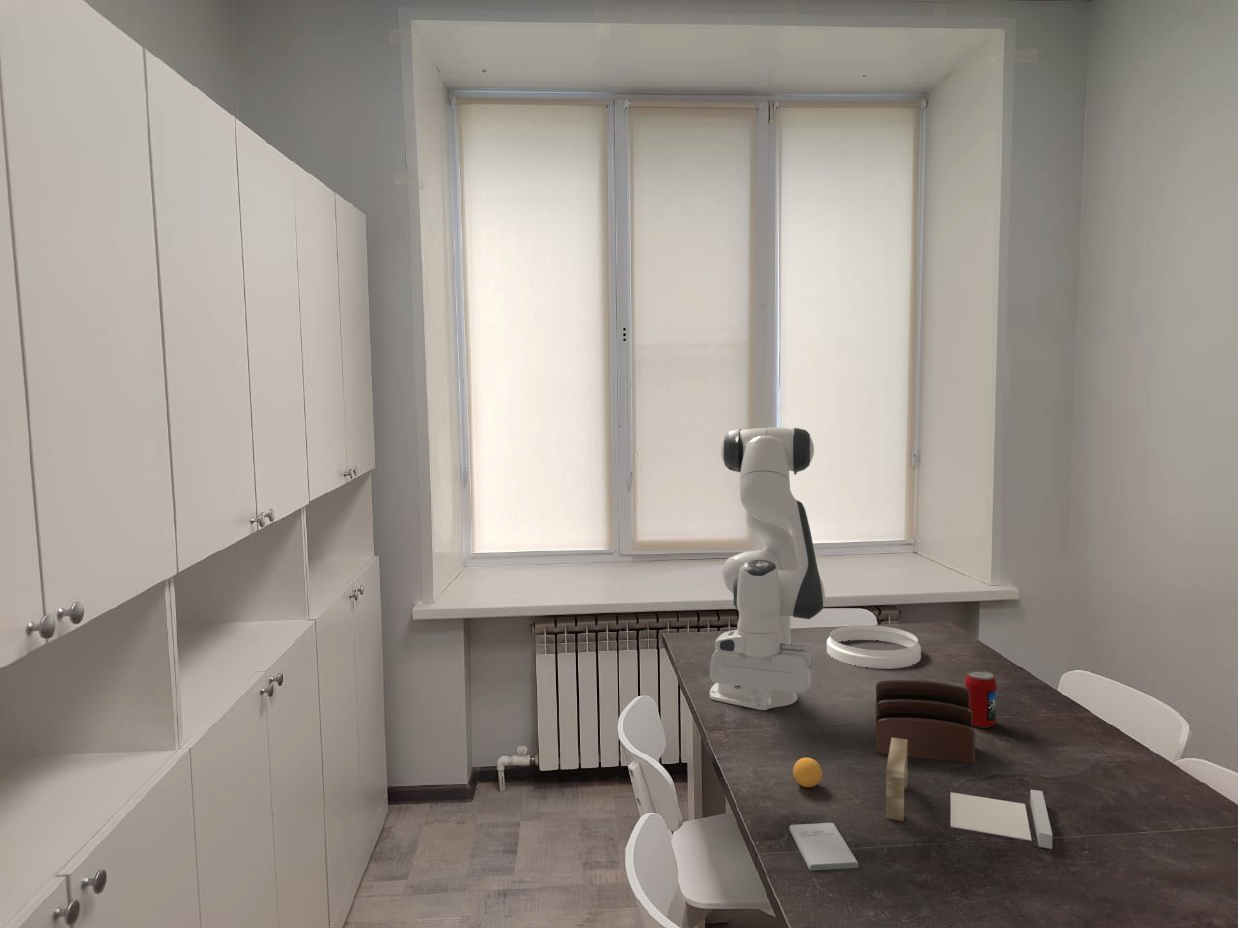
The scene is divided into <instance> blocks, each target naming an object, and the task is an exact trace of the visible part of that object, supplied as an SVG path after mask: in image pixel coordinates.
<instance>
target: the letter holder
mask: <svg viewBox="0 0 1238 928" xmlns="http://www.w3.org/2000/svg"><path fill="white" fill-rule="evenodd" d="M891 738H899V739H906V740H908V742H907V758H915V759H916V758H917V759H927V760H934V761H935V760H936V761H945V762H952V763H953V762H954V763H964V764H971V763H972V765H974V764H975V763H976V757H975V756H976V754H975V753H976V751H975V749H976V748H975V747H976V742H975V741H976V732H975V730H974V729H973V726H972V711H971V710H970V692H969V690H968V689H966V688H965V687H963V686H958V685H955V684H954V685H953V684H949V683H943V682H942V683H941V682H935V681H927V680H925V681H923V680H909V679H908V680H906V679H905V680H904V679H900V680H898V679H896V680H880V681H878V682H877V683H876V685H875V750H876V754H879V755H880V754H881V755H887V756H889V750H890V744H891Z"/></svg>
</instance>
